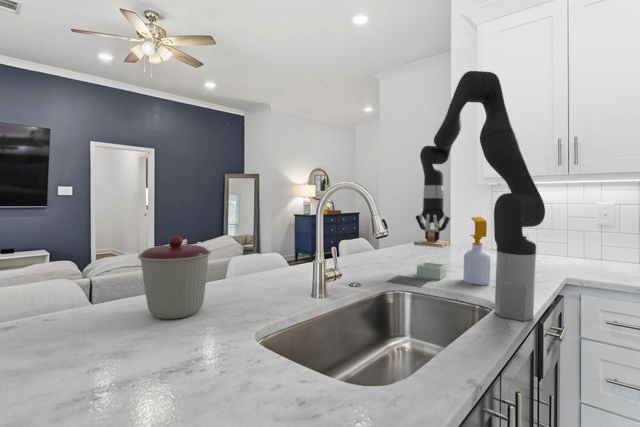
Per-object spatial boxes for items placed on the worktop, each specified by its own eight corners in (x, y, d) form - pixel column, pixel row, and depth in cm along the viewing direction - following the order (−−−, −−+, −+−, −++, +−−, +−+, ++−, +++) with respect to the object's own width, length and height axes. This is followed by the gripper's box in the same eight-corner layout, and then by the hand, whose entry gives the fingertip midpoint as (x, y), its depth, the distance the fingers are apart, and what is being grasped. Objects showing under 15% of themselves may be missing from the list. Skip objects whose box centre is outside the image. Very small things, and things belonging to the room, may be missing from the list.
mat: (420, 288, 120) (420, 287, 120) (385, 283, 127) (385, 281, 127) (430, 281, 131) (430, 280, 131) (398, 276, 138) (398, 275, 138)
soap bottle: (483, 279, 134) (485, 216, 132) (493, 285, 125) (495, 218, 123) (459, 279, 134) (461, 216, 133) (468, 285, 125) (470, 218, 124)
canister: (142, 331, 81) (140, 242, 80) (136, 309, 96) (134, 234, 95) (219, 317, 90) (218, 237, 89) (202, 299, 106) (202, 231, 105)
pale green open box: (439, 281, 130) (440, 268, 130) (416, 278, 135) (416, 265, 135) (446, 276, 138) (446, 264, 137) (423, 273, 143) (423, 261, 143)
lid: (442, 247, 128) (443, 231, 128) (413, 245, 134) (414, 229, 134) (449, 244, 137) (450, 229, 137) (422, 242, 143) (422, 227, 143)
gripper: (412, 197, 136) (411, 240, 136) (449, 197, 128) (448, 243, 129) (418, 197, 142) (417, 238, 143) (454, 197, 134) (452, 241, 135)
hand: (432, 240), depth 136 cm, fingers closed on lid, 2 cm apart
